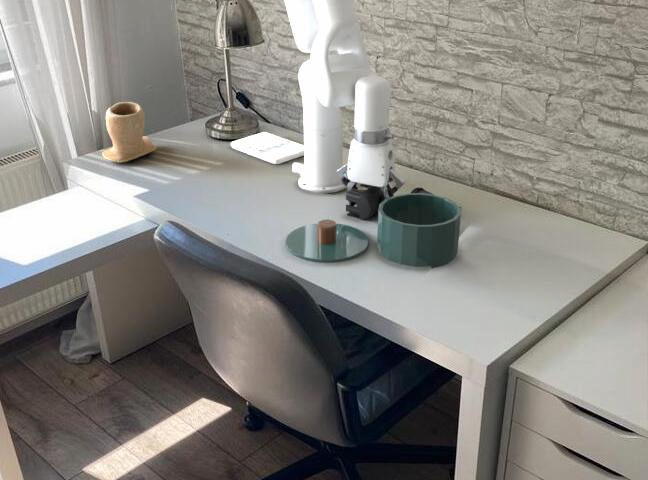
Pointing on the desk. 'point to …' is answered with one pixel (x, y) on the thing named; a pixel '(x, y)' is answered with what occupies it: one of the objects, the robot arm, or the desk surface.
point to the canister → (418, 229)
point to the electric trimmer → (421, 191)
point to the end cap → (364, 201)
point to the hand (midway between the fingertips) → (369, 208)
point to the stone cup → (126, 132)
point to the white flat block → (269, 147)
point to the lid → (326, 242)
